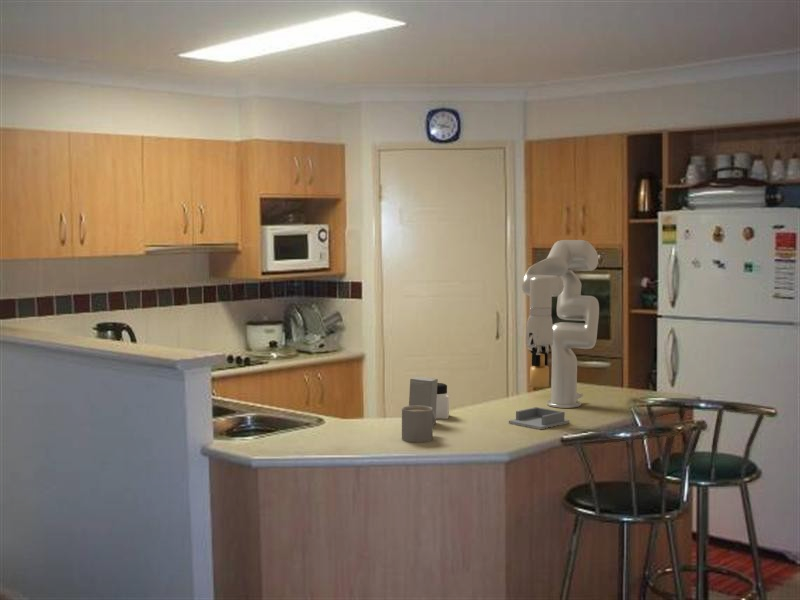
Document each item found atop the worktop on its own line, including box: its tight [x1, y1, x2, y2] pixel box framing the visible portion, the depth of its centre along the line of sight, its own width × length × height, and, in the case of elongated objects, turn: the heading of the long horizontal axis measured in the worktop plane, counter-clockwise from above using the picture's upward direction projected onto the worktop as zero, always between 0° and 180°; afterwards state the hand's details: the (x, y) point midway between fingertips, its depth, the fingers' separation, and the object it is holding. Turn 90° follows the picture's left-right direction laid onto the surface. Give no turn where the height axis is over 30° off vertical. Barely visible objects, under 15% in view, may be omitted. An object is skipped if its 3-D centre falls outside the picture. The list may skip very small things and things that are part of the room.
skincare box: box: [408, 376, 439, 423], centre depth 347 cm, size 8×7×16 cm
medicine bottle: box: [436, 382, 450, 420], centre depth 358 cm, size 7×7×12 cm
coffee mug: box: [401, 405, 436, 443], centre depth 324 cm, size 13×10×10 cm
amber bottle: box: [529, 354, 550, 388], centre depth 346 cm, size 6×6×11 cm
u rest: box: [508, 406, 570, 430], centre depth 347 cm, size 16×14×4 cm
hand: (539, 364), depth 345 cm, fingers closed on amber bottle, 3 cm apart
